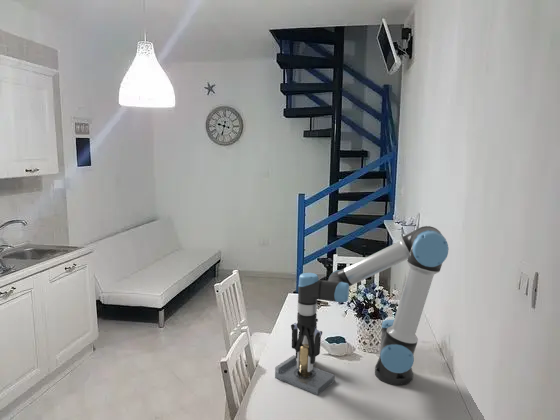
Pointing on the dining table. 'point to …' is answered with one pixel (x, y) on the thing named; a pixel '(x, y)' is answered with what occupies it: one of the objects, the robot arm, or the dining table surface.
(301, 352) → the gold metal cylinder
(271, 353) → the dining table surface
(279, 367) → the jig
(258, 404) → the dining table surface
